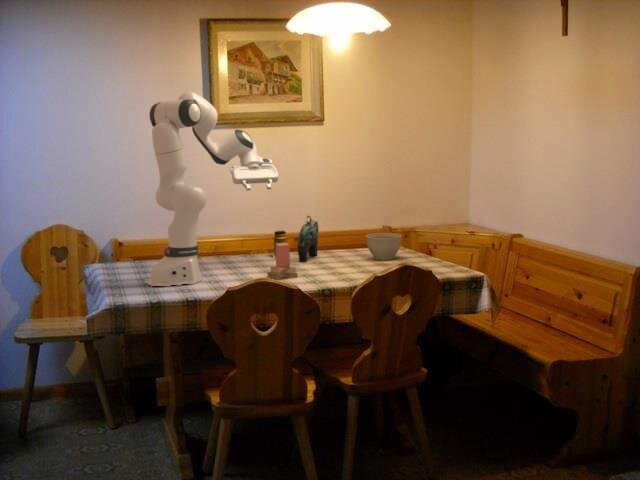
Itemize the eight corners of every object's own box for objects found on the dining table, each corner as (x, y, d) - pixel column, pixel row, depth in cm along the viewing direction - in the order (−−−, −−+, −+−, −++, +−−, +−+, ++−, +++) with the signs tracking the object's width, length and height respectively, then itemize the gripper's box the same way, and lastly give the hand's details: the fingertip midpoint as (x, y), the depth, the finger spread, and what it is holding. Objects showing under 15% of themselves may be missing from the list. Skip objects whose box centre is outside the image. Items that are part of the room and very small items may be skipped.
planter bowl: (358, 259, 351) (358, 235, 350) (383, 254, 362) (382, 231, 360) (384, 263, 340) (384, 239, 338) (408, 258, 350) (408, 235, 349)
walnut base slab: (277, 281, 307) (277, 275, 307) (267, 277, 315) (267, 271, 314) (297, 279, 311) (297, 272, 311) (287, 275, 319) (287, 269, 319)
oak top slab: (279, 275, 307) (278, 268, 307) (270, 272, 314) (270, 266, 313) (295, 272, 311) (295, 266, 311) (286, 270, 318) (286, 264, 317)
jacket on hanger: (309, 255, 364) (308, 213, 362) (322, 255, 362) (321, 213, 360) (295, 262, 346) (294, 218, 343) (308, 263, 344) (307, 218, 341)
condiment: (290, 256, 362) (289, 231, 361) (275, 258, 358) (274, 233, 356) (282, 254, 368) (282, 229, 367) (267, 256, 364) (266, 231, 362)
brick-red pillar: (279, 267, 309) (279, 245, 308) (275, 265, 313) (275, 243, 311) (289, 266, 311) (289, 244, 309) (286, 263, 315) (285, 242, 313)
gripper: (229, 161, 330) (237, 185, 322) (274, 159, 338) (282, 183, 330) (227, 171, 335) (234, 195, 327) (272, 169, 342) (279, 192, 335)
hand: (259, 189), depth 329 cm, fingers open, 8 cm apart
